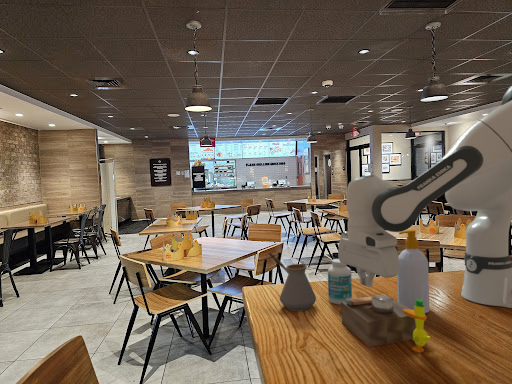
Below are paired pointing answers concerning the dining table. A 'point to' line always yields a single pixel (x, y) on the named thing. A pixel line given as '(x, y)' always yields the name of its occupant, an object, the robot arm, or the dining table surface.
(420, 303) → the toy figure
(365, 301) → the bar
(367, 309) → the brown square block
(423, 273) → the soap bottle
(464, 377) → the dining table surface
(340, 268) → the pill bottle
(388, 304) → the steel pin
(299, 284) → the coffee pot
